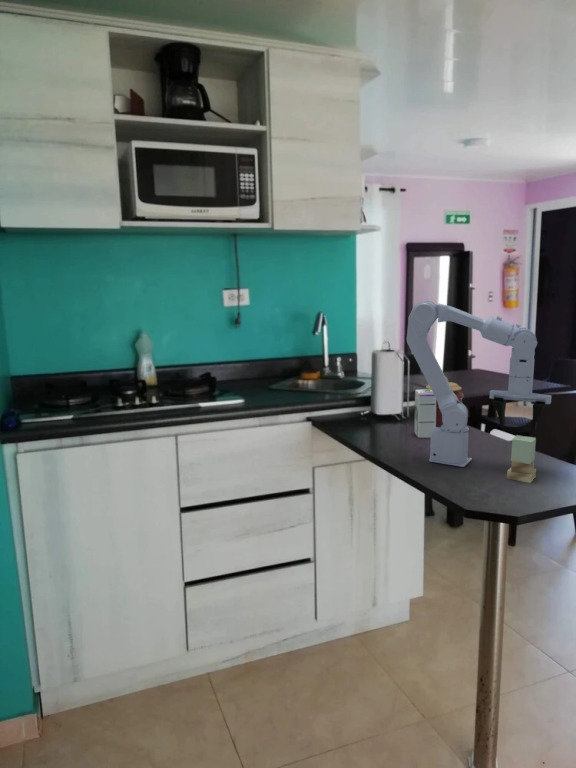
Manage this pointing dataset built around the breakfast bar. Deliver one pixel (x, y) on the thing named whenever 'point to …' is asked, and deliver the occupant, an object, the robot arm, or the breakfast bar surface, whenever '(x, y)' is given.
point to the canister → (439, 422)
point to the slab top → (522, 467)
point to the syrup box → (424, 413)
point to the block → (523, 449)
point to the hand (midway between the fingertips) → (517, 428)
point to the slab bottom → (521, 476)
